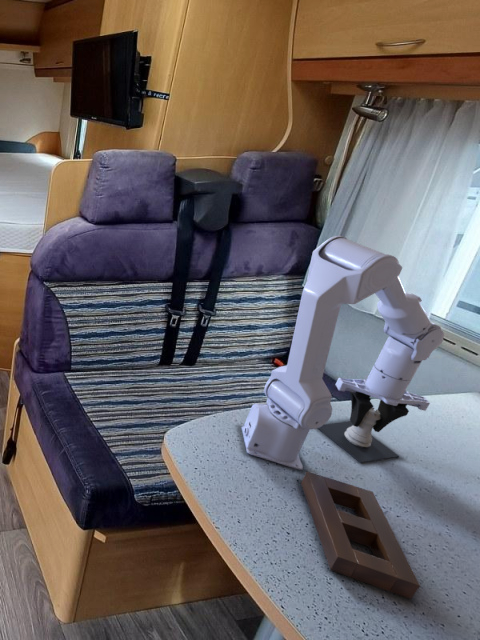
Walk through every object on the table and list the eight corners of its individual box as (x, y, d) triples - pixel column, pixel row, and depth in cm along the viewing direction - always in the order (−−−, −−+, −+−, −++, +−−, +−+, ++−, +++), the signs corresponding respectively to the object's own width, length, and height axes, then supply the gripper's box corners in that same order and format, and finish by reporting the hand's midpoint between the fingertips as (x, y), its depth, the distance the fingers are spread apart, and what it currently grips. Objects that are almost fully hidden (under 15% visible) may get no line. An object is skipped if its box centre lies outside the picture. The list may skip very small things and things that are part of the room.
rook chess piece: (375, 450, 94) (392, 419, 91) (351, 446, 95) (367, 415, 91) (361, 434, 98) (377, 404, 95) (338, 430, 99) (353, 401, 96)
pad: (360, 463, 91) (361, 462, 91) (315, 426, 100) (315, 425, 100) (398, 457, 93) (399, 456, 93) (351, 421, 102) (351, 420, 102)
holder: (330, 569, 70) (337, 556, 69) (300, 482, 85) (306, 470, 84) (411, 599, 67) (420, 586, 66) (365, 503, 82) (372, 491, 81)
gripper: (357, 373, 88) (330, 428, 93) (450, 394, 84) (416, 450, 89) (343, 353, 94) (318, 406, 100) (429, 372, 90) (398, 426, 96)
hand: (363, 425), depth 95 cm, fingers closed on rook chess piece, 3 cm apart
